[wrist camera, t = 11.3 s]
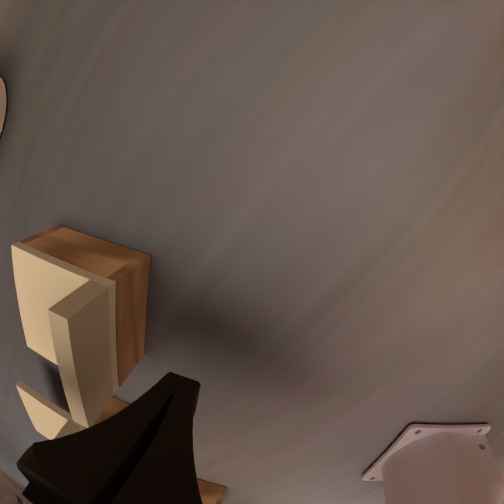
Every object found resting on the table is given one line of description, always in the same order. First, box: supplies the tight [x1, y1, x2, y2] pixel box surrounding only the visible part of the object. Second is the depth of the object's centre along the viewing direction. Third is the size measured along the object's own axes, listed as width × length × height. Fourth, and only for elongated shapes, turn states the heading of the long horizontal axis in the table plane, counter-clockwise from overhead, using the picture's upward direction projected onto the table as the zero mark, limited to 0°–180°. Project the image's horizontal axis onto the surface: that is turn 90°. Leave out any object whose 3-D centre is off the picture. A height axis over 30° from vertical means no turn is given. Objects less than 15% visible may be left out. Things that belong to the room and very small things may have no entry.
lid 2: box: [16, 381, 85, 440], centre depth 16 cm, size 7×7×3 cm
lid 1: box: [11, 242, 119, 428], centre depth 12 cm, size 7×7×3 cm
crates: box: [20, 225, 226, 504], centre depth 18 cm, size 15×29×3 cm, turn 166°
